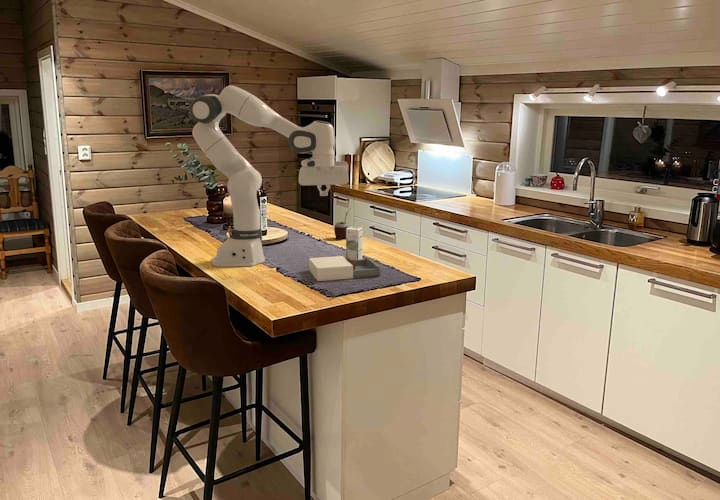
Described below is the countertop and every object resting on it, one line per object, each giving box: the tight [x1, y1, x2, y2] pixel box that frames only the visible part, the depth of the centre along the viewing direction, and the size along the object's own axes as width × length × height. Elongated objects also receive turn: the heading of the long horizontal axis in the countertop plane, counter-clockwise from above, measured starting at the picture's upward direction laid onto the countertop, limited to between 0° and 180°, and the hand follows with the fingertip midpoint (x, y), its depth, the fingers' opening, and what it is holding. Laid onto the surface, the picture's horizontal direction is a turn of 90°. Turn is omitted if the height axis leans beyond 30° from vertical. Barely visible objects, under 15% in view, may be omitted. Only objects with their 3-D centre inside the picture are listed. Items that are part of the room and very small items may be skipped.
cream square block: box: [308, 255, 354, 282], centre depth 239 cm, size 14×16×5 cm
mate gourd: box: [333, 208, 351, 241], centre depth 300 cm, size 8×8×15 cm
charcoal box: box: [352, 256, 381, 279], centre depth 242 cm, size 11×16×4 cm, turn 17°
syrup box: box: [345, 226, 364, 260], centre depth 258 cm, size 6×6×14 cm
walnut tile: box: [347, 257, 355, 270], centre depth 241 cm, size 5×5×2 cm
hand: (323, 195), depth 246 cm, fingers closed
